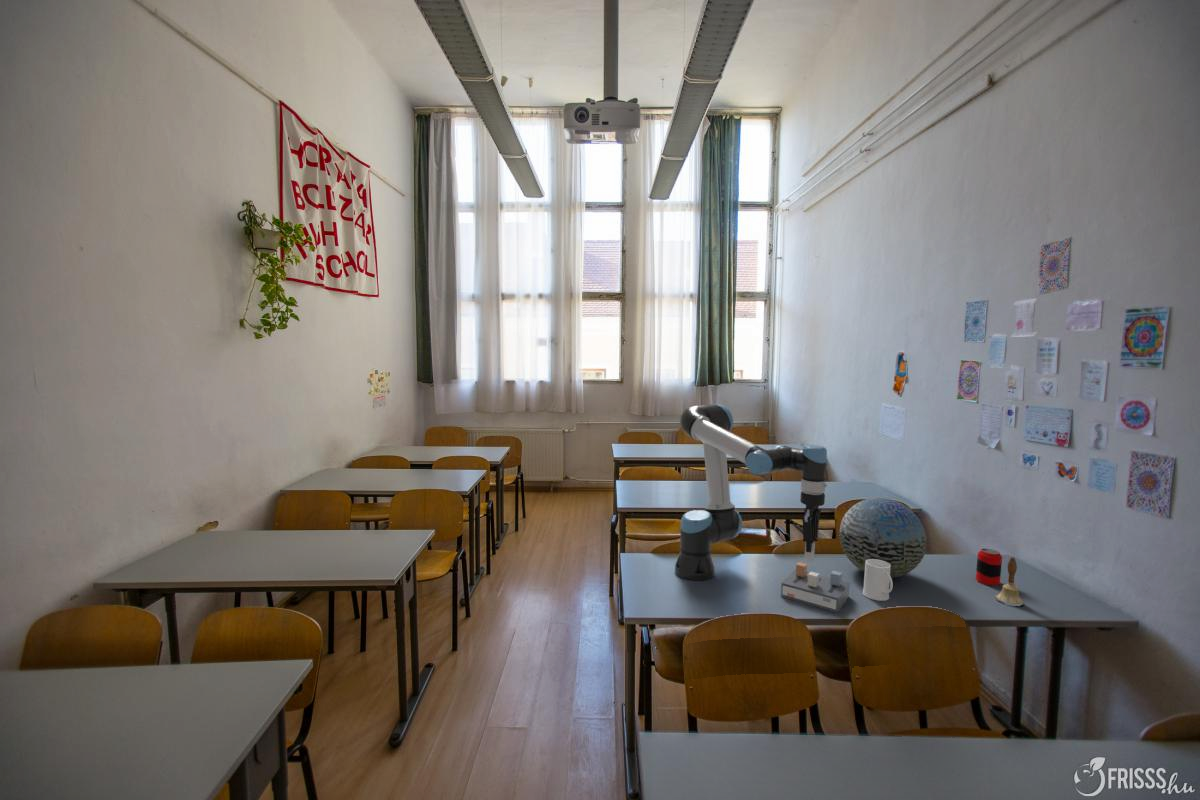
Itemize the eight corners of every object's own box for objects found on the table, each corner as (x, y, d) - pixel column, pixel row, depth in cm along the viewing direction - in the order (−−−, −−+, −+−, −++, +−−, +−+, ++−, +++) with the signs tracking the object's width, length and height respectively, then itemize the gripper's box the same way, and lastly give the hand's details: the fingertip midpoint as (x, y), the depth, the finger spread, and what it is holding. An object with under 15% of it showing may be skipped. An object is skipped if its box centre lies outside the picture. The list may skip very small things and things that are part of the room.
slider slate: (830, 584, 196) (830, 573, 195) (832, 581, 198) (833, 570, 198) (839, 586, 194) (839, 575, 194) (841, 583, 196) (842, 572, 196)
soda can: (981, 576, 218) (983, 546, 216) (1003, 583, 211) (1006, 552, 210) (971, 580, 213) (974, 550, 212) (994, 587, 207) (997, 556, 206)
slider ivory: (807, 585, 195) (807, 574, 194) (810, 582, 197) (810, 571, 197) (816, 587, 193) (816, 576, 193) (818, 584, 195) (819, 573, 195)
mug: (900, 605, 193) (902, 571, 191) (876, 605, 192) (879, 572, 190) (879, 589, 204) (882, 558, 203) (857, 590, 203) (859, 558, 202)
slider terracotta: (795, 575, 203) (796, 564, 203) (798, 572, 205) (798, 562, 205) (804, 577, 201) (804, 566, 201) (806, 574, 204) (807, 564, 203)
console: (780, 596, 197) (781, 583, 197) (794, 582, 210) (795, 569, 209) (836, 613, 186) (837, 598, 185) (848, 596, 198) (849, 582, 198)
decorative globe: (938, 579, 214) (944, 503, 211) (897, 598, 197) (903, 516, 194) (864, 554, 238) (868, 485, 235) (821, 569, 222) (825, 495, 218)
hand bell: (1016, 609, 191) (1020, 564, 189) (989, 599, 198) (993, 555, 196) (1029, 604, 195) (1033, 559, 193) (1002, 594, 202) (1006, 551, 200)
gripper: (818, 498, 179) (814, 569, 181) (830, 489, 189) (826, 557, 192) (795, 494, 183) (791, 563, 186) (807, 486, 194) (804, 552, 196)
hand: (809, 560), depth 189 cm, fingers closed
